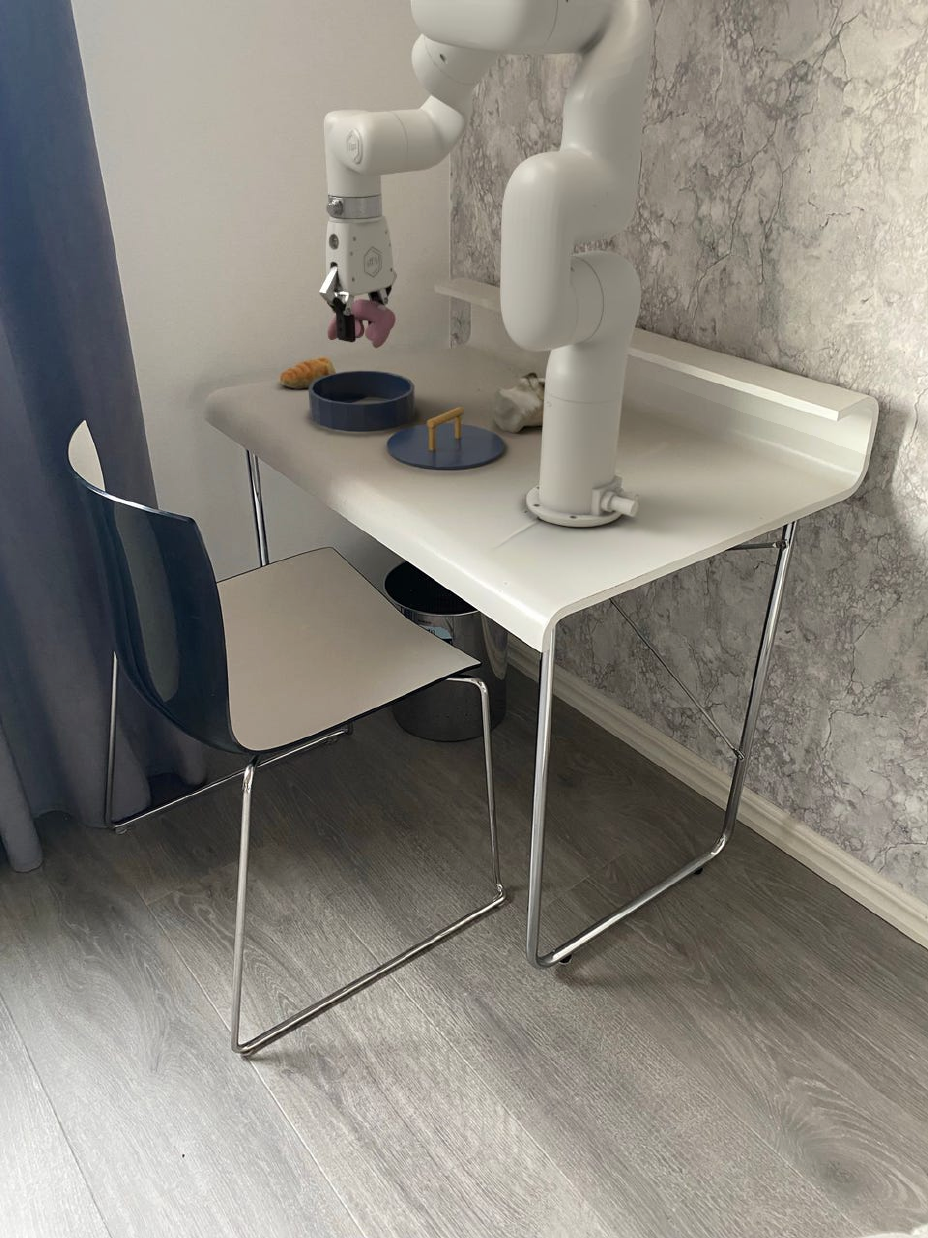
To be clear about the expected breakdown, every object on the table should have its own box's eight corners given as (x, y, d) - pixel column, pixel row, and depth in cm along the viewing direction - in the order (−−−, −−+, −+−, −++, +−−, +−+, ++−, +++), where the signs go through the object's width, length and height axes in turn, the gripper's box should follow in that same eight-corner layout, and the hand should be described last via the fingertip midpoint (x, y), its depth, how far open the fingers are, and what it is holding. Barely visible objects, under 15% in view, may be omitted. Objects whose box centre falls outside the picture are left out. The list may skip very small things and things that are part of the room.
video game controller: (392, 354, 150) (403, 307, 149) (375, 346, 146) (386, 298, 145) (340, 344, 154) (350, 299, 154) (322, 337, 150) (332, 290, 150)
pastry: (292, 393, 166) (291, 371, 164) (272, 383, 171) (270, 361, 169) (340, 382, 171) (339, 360, 169) (319, 373, 176) (318, 351, 174)
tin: (435, 413, 159) (435, 384, 156) (366, 443, 148) (365, 411, 145) (360, 392, 167) (358, 364, 164) (289, 418, 156) (287, 388, 153)
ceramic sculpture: (475, 367, 150) (552, 358, 158) (471, 423, 154) (546, 411, 162) (518, 388, 143) (596, 376, 151) (512, 445, 147) (589, 431, 155)
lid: (526, 447, 147) (528, 410, 144) (455, 484, 135) (455, 444, 132) (436, 421, 156) (436, 386, 153) (362, 453, 144) (361, 416, 141)
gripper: (332, 218, 133) (340, 352, 143) (415, 202, 145) (418, 327, 154) (292, 213, 137) (303, 344, 147) (376, 198, 149) (381, 320, 158)
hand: (362, 334), depth 150 cm, fingers closed on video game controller, 6 cm apart
